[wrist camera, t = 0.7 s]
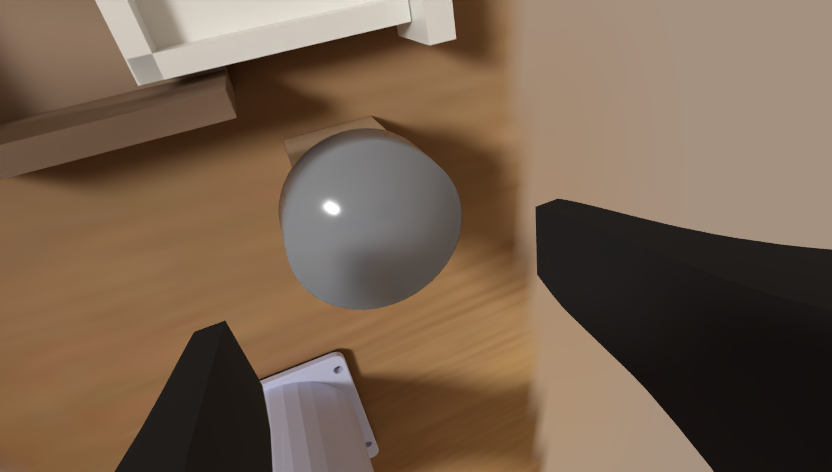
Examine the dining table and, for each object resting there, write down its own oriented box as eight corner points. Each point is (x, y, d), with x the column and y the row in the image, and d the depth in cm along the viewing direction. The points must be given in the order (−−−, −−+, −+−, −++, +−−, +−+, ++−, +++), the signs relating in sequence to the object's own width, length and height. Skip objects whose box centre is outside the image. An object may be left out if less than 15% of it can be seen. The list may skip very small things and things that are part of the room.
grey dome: (446, 247, 17) (469, 275, 16) (308, 297, 16) (317, 333, 14) (425, 108, 14) (451, 124, 12) (252, 157, 13) (256, 182, 11)
